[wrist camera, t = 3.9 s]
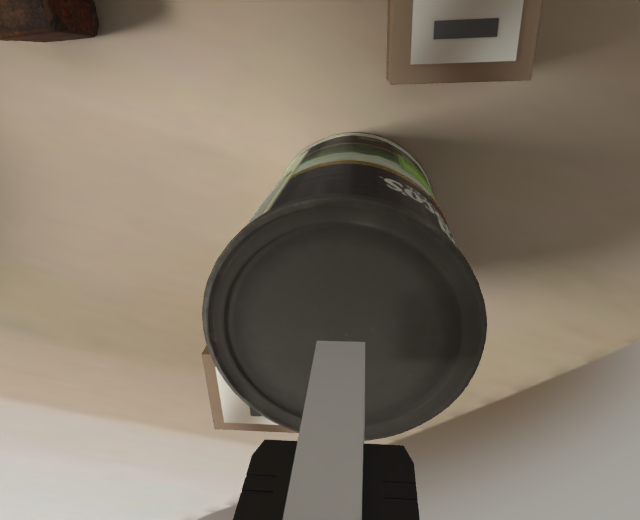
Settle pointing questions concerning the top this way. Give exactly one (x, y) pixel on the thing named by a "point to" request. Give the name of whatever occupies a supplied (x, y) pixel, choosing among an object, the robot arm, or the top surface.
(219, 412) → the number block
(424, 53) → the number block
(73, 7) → the brick
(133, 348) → the top surface
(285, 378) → the coffee can
